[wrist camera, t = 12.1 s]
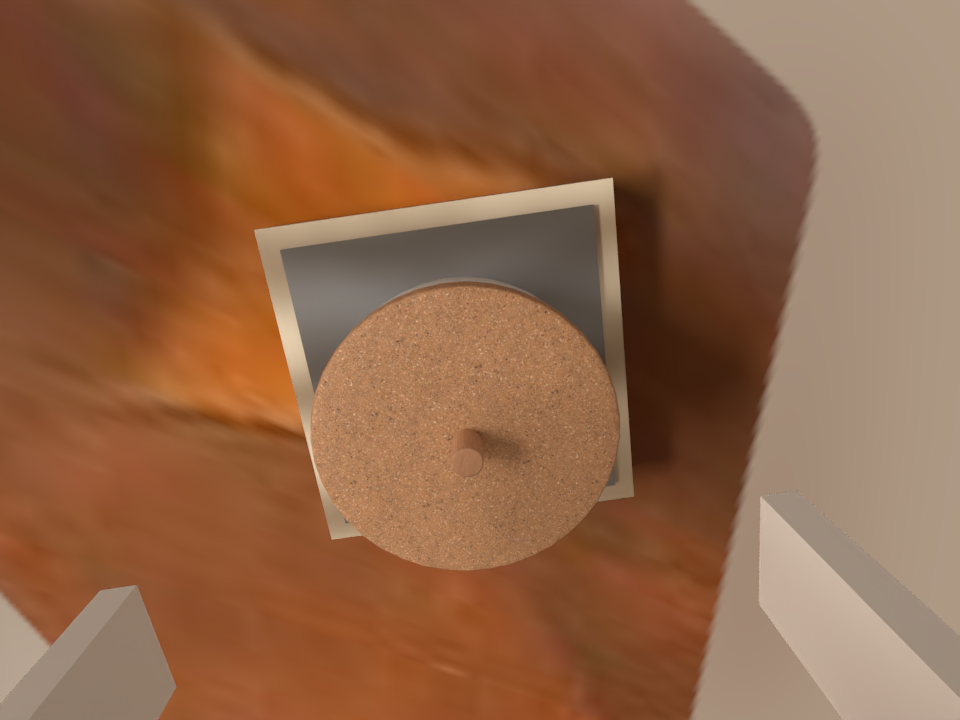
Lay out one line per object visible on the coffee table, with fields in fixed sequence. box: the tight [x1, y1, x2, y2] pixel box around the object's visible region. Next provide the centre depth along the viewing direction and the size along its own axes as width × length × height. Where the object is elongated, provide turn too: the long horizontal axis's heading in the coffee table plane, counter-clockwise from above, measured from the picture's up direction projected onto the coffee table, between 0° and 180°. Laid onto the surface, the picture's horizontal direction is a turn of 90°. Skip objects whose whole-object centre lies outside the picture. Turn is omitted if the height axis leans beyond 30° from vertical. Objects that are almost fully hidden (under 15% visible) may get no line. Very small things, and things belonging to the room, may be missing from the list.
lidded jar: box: [311, 277, 620, 570], centre depth 22 cm, size 11×11×9 cm
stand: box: [254, 178, 634, 539], centre depth 28 cm, size 16×16×3 cm
